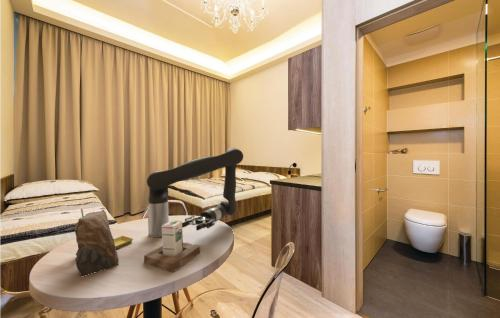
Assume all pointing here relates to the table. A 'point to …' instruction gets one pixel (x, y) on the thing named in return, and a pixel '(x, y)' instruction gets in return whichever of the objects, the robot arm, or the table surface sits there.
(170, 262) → the hole board
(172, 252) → the syrup box
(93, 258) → the brown rough tall block
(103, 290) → the table surface
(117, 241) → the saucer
